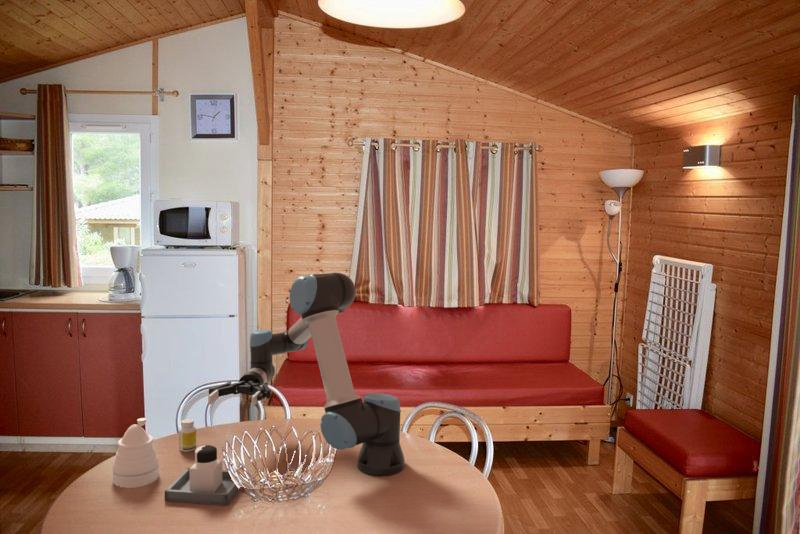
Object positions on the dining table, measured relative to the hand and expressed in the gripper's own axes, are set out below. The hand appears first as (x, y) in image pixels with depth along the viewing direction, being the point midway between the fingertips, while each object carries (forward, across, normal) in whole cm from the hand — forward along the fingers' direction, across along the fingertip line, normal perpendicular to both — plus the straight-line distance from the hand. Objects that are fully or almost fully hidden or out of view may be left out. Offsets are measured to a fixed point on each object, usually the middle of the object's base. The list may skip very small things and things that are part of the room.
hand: (231, 400), depth 193 cm
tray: (+13, +3, -23) cm, 26 cm away
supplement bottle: (-15, +21, -22) cm, 34 cm away
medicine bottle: (+13, +3, -22) cm, 26 cm away
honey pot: (+8, +27, -22) cm, 36 cm away
